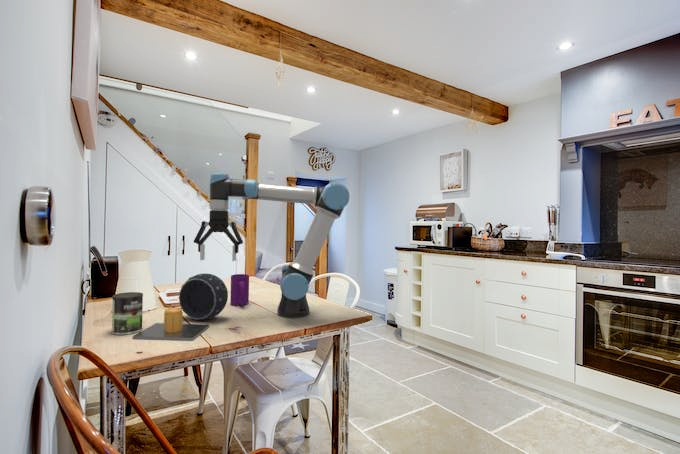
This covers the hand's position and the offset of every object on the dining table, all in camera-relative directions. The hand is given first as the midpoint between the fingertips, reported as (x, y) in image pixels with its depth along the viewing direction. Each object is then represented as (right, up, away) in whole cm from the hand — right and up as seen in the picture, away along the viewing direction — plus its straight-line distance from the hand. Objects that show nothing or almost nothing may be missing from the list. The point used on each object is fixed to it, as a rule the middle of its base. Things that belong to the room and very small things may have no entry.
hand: (218, 260), depth 149 cm
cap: (-13, -26, -13) cm, 32 cm away
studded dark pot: (-8, -27, +6) cm, 28 cm away
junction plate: (-13, -27, -13) cm, 32 cm away
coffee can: (-31, -27, -12) cm, 43 cm away
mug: (+1, -26, +31) cm, 40 cm away
